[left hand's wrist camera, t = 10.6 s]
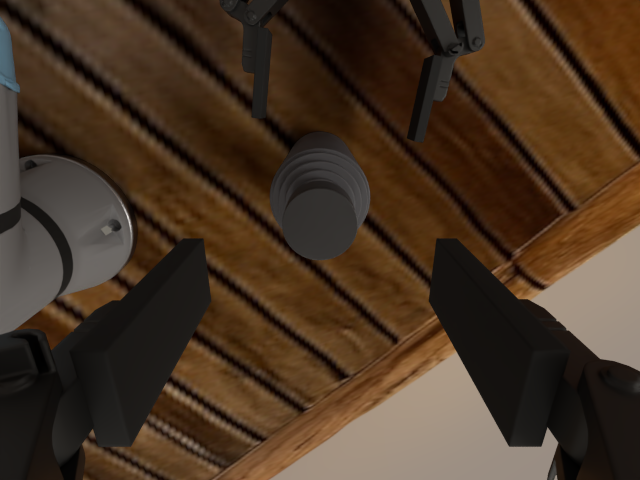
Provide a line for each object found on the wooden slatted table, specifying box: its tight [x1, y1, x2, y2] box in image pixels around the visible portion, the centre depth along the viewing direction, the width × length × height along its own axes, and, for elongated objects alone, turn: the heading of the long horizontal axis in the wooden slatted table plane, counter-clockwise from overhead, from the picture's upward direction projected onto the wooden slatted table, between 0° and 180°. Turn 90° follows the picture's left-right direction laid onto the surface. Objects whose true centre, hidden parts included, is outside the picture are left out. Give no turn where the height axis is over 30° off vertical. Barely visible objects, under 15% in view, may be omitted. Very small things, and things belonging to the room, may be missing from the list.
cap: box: [282, 180, 358, 260], centre depth 20 cm, size 4×4×2 cm
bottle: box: [270, 132, 370, 228], centre depth 29 cm, size 7×7×20 cm
